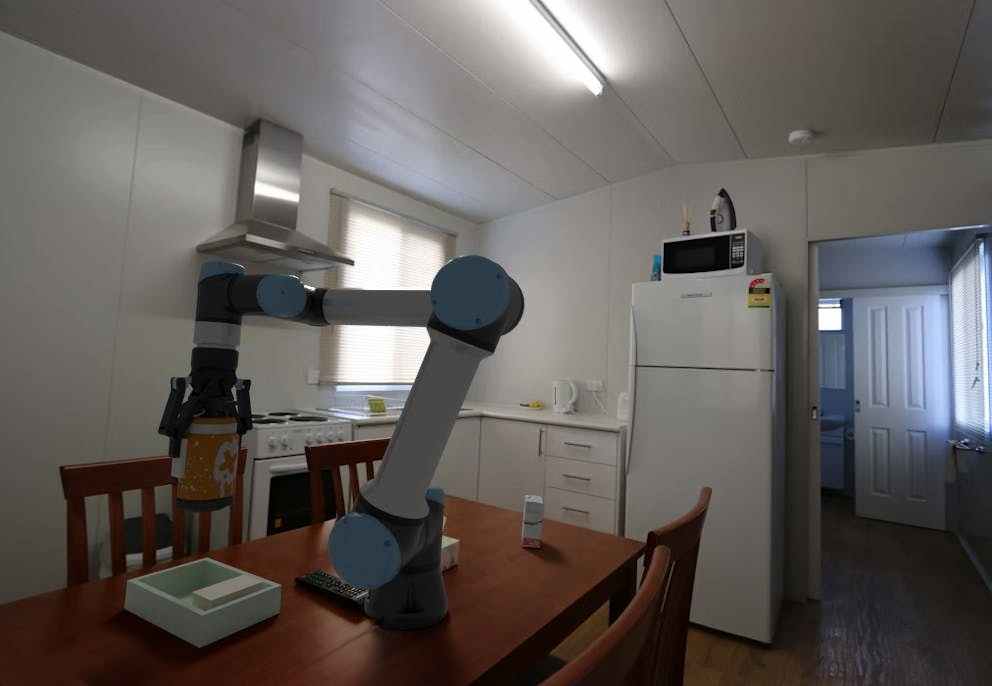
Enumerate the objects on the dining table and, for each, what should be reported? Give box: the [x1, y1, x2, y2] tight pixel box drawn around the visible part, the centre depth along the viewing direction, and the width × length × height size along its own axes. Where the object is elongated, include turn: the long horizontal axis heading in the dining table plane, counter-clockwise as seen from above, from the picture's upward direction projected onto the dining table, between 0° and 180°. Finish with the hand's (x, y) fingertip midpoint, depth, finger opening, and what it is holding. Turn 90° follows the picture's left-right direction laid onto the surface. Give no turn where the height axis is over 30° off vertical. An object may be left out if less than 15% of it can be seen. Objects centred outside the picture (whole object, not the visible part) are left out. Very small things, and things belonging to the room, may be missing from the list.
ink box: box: [521, 494, 545, 547], centre depth 136 cm, size 9×5×12 cm, turn 179°
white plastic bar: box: [192, 575, 263, 611], centre depth 85 cm, size 5×9×6 cm, turn 151°
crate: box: [123, 557, 282, 649], centre depth 88 cm, size 22×14×6 cm, turn 61°
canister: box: [171, 397, 239, 513], centre depth 91 cm, size 9×11×20 cm
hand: (204, 472), depth 91 cm, fingers closed on canister, 9 cm apart
